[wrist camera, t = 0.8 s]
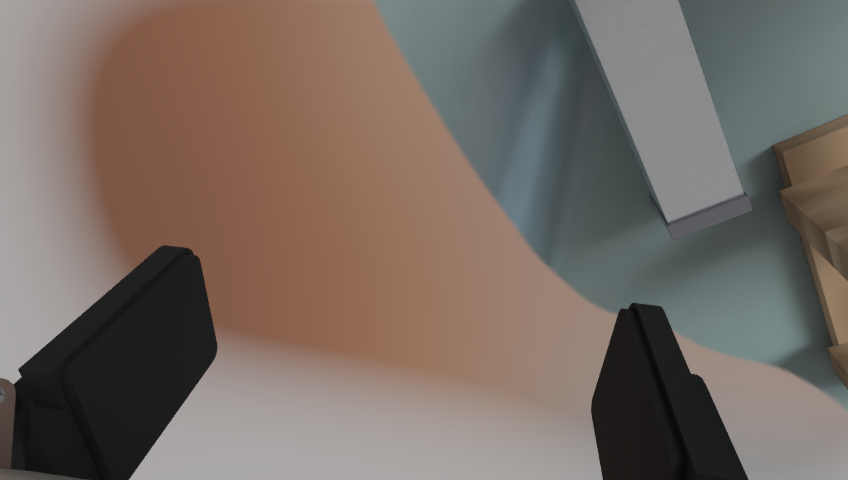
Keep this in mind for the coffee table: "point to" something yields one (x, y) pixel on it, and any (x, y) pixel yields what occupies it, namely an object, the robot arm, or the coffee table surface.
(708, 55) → the coffee table surface
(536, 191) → the coffee table surface
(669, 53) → the rail
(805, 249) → the rack
